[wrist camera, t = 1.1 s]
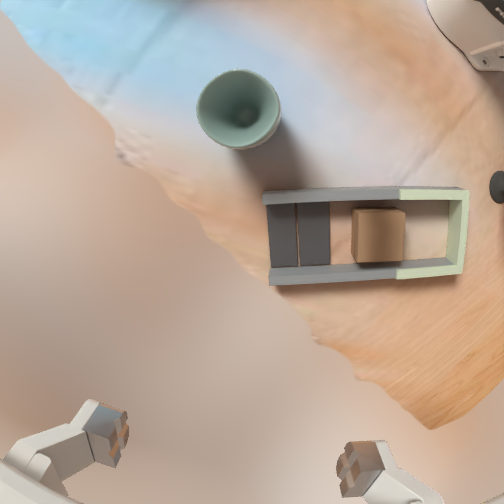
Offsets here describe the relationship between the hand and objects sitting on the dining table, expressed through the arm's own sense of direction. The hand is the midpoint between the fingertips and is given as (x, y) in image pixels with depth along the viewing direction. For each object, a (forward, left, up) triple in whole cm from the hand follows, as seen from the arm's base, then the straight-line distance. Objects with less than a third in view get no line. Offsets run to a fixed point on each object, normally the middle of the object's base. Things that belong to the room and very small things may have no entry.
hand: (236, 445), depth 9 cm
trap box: (-13, +1, -32) cm, 34 cm away
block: (-13, +1, -32) cm, 35 cm away
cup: (+2, -14, -32) cm, 35 cm away
